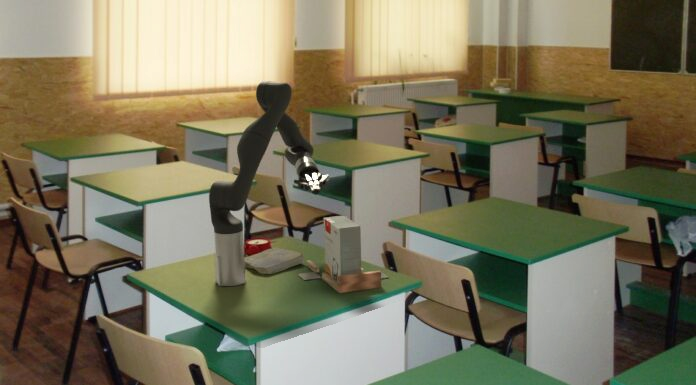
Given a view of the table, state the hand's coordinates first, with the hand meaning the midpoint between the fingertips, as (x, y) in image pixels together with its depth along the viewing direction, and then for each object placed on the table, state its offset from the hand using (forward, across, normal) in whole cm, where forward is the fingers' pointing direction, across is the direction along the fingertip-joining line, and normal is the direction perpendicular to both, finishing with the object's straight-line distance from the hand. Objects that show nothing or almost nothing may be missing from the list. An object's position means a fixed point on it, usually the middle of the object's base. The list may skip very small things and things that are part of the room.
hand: (316, 192), depth 278 cm
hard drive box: (+25, +2, +21) cm, 32 cm away
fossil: (0, -19, +26) cm, 32 cm away
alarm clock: (-17, -23, +30) cm, 41 cm away
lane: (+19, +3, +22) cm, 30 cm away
